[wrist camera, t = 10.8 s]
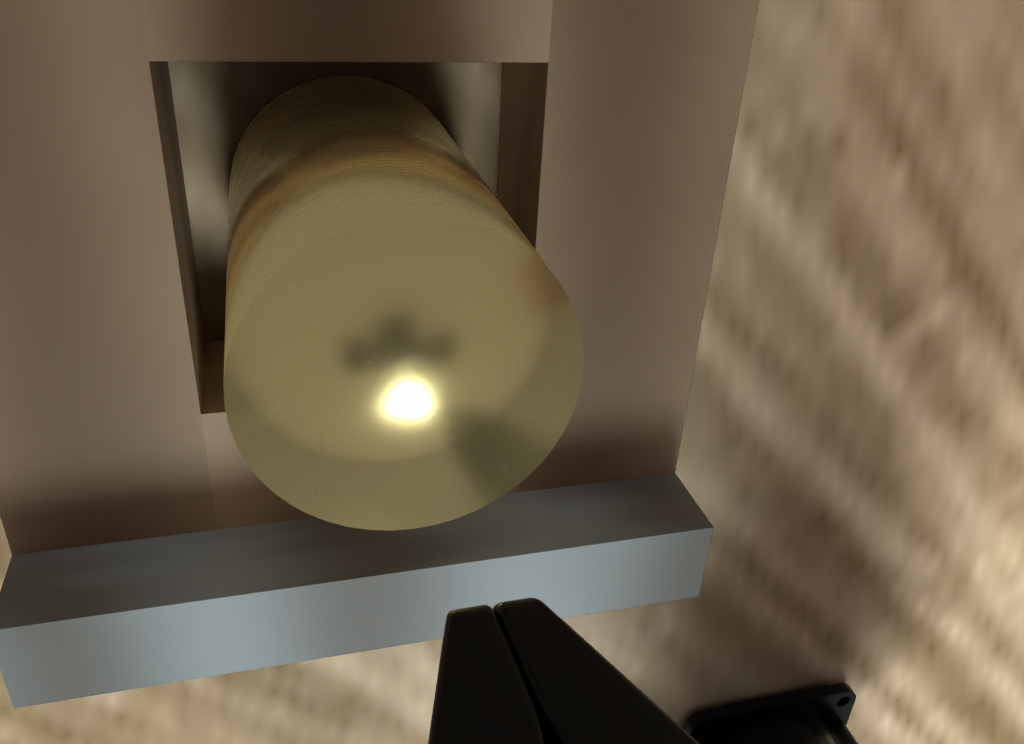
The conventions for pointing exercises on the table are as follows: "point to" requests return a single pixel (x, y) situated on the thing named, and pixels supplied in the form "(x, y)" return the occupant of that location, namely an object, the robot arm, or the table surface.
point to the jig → (200, 364)
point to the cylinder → (385, 315)
